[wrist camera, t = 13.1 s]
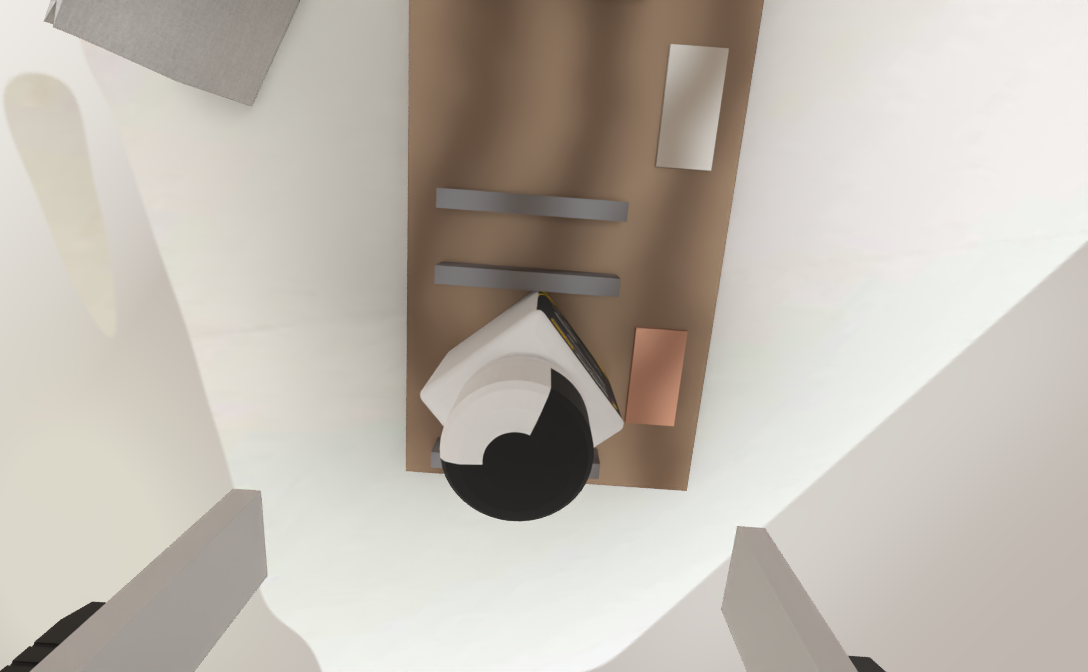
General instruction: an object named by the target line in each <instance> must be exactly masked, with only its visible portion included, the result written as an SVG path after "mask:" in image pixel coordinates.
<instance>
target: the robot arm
mask: <svg viewBox="0 0 1088 672" xmlns="http://www.w3.org/2000/svg"><path fill="white" fill-rule="evenodd" d="M266 577H267V563H266V550H265V537H264V524H263V511H262V498H261V491H256V490H242V489H232V490H231V491H230V492H229V493H228V494H227V495H226V496H225V497H223V498H222V499H221V500H220V501H219V502H218V503H217V504H216V505H215V506H213V508H211V509H210V510H209V511H208V512H207V513H206V514H205V515H203V516H202V517H201V518H200V519H199V520H198V521H197V522H196V523H195V524H193V525H192V526H191V527H190V528H189V529H188V530H187V531H186V532H185V533H183V534H182V535H181V536H180V537H179V538H178V539H177V540H176V541H175V542H173V543H172V544H171V545H170V546H169V547H168V548H167V549H166V550H165V551H164V552H162V553H161V554H160V555H159V556H158V557H157V558H156V559H154V560H153V561H152V562H151V563H150V564H149V565H148V566H147V567H146V568H144V569H143V570H142V571H141V572H140V573H139V574H138V575H137V576H136V577H134V578H133V579H132V580H131V581H130V582H129V583H128V584H127V585H126V586H125V587H123V588H122V589H121V590H120V591H119V592H118V593H117V594H116V595H114V596H113V597H112V598H111V599H110V600H109V601H108V602H107V603H105V602H91V603H89V604H87V605H86V606H84V607H82V608H80V609H79V610H77V611H75V612H73V613H72V614H70V615H68V616H66V617H65V618H63V619H61V620H60V621H59V622H57V623H56V624H55V625H54V626H53V627H52V628H50V629H49V630H48V631H47V632H46V633H44V634H43V635H42V636H41V637H40V638H39V639H37V640H36V641H35V642H34V645H33V646H32V647H30V646H29V647H28V648H27V649H26V650H25V651H23V652H22V653H21V654H20V655H19V656H17V657H16V658H15V659H14V660H13V661H12V664H11V665H10V666H8V665H7V666H6V667H4V668H3V669H2V670H1V671H0V672H194V671H195V670H196V669H197V667H198V666H199V665H200V663H201V662H202V661H203V660H204V658H205V657H206V656H207V654H208V653H209V652H210V650H211V649H212V648H213V646H214V645H215V644H216V642H217V641H218V640H219V639H220V637H221V636H222V635H223V633H224V632H225V631H226V629H227V628H228V627H229V626H230V624H231V623H232V622H233V620H234V619H235V618H236V616H237V615H238V614H239V612H240V611H241V610H242V608H243V607H244V606H245V605H246V603H247V602H248V601H249V599H250V598H251V597H252V595H253V594H254V593H255V591H256V590H257V589H258V588H259V586H260V585H261V584H262V582H263V581H264V580H265V578H266ZM721 610H722V612H723V615H724V617H725V620H726V622H727V624H728V627H729V629H730V632H731V634H732V637H733V639H734V641H735V644H736V646H737V649H738V651H739V654H740V656H741V658H742V661H743V663H744V666H745V668H746V670H747V672H885V671H884V670H883V669H882V668H881V667H880V666H879V665H878V664H877V663H875V662H874V661H873V660H872V659H871V658H869V657H857V656H847V654H846V652H845V651H844V649H843V648H842V646H841V645H840V643H839V642H838V640H837V639H836V637H835V635H834V634H833V632H832V631H831V629H830V628H829V626H828V625H827V623H826V622H825V620H824V618H823V617H822V615H821V614H820V613H819V611H818V609H817V608H816V606H815V605H814V603H813V601H812V600H811V598H810V597H809V596H808V594H807V592H806V591H805V589H804V588H803V586H802V585H801V583H800V581H799V580H798V578H797V577H796V575H795V574H794V572H793V571H792V569H791V568H790V566H789V564H788V563H787V561H786V560H785V558H784V557H783V555H782V554H781V552H780V551H779V549H778V548H777V546H776V544H775V543H774V542H773V540H772V538H771V537H770V535H769V534H768V532H767V531H766V529H765V528H754V527H741V526H737V531H736V536H735V541H734V546H733V551H732V556H731V562H730V567H729V572H728V577H727V583H726V588H725V593H724V598H723V603H722V608H721Z"/></svg>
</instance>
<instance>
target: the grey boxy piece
mask: <svg viewBox="0 0 1088 672" xmlns="http://www.w3.org/2000/svg"><path fill="white" fill-rule="evenodd" d="M299 1H300V0H51V2H50V4H49V7H48V10H47V13H46V16H45V19H44V21H45V22H48V23H51V24H53V27H55V28H57V29H59V30H62V31H64V32H67V33H69V34H71V35H74V36H76V37H79V38H81V39H83V40H85V41H88V42H90V43H92V44H95V45H97V46H99V47H101V48H104V49H106V50H108V51H111V52H113V53H115V54H117V55H120V56H122V57H124V58H126V59H128V60H131V61H133V62H135V63H137V64H140V65H142V66H144V67H146V68H149V69H151V70H153V71H155V72H157V73H160V74H162V75H164V76H166V77H169V78H171V79H173V80H175V81H178V82H181V83H184V84H187V85H190V86H193V87H196V88H199V89H202V90H205V91H208V92H211V93H214V94H217V95H220V96H223V97H226V98H229V99H232V100H235V101H238V102H241V103H244V104H247V105H250V106H252V105H253V103H254V100H255V98H256V96H257V94H258V92H259V89H260V87H261V85H262V83H263V80H264V78H265V76H266V74H267V72H268V69H269V67H270V65H271V63H272V61H273V58H274V56H275V54H276V52H277V50H278V47H279V45H280V43H281V41H282V39H283V36H284V34H285V32H286V30H287V28H288V25H289V23H290V21H291V19H292V17H293V14H294V12H295V10H296V8H297V6H298V3H299Z"/></svg>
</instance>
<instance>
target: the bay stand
mask: <svg viewBox="0 0 1088 672" xmlns="http://www.w3.org/2000/svg"><path fill="white" fill-rule="evenodd" d="M763 3H764V0H409V127H408V262H407V397H406V471H413V472H427V473H442V474H444V471H443V468H442V464H441V459H440V440H441V435H442V431H443V428H444V426H443V425H442V424H441V423H440V421H439V420H438V419H437V418H436V417H435V415H434V414H433V413H432V412H431V411H430V409H429V408H428V407H427V406H426V405H425V403H424V402H423V401H422V399H421V397H420V393H421V391H422V389H423V388H424V386H425V385H426V383H427V382H428V380H429V379H430V378H431V376H432V375H433V373H434V372H435V370H436V369H437V367H438V366H439V365H440V363H441V362H442V360H443V359H444V357H445V356H446V354H447V353H448V352H449V351H450V350H452V349H453V348H454V347H456V346H457V345H459V344H460V343H461V342H463V341H464V340H466V339H467V338H468V337H470V336H471V335H473V334H474V333H475V332H477V331H478V330H479V329H481V328H482V327H484V326H485V325H486V324H488V323H489V322H491V321H492V320H493V319H495V318H496V317H498V316H499V315H500V314H502V313H503V312H505V311H506V310H507V309H509V308H510V307H512V306H513V305H514V304H516V303H517V302H519V301H520V300H521V299H523V298H524V297H525V296H527V295H528V294H530V293H531V292H532V291H541V292H547V294H548V295H549V297H550V298H551V299H552V301H553V302H554V303H555V305H556V306H557V308H558V309H559V310H560V312H561V313H562V314H563V316H564V317H565V319H566V320H567V321H568V323H569V324H570V325H571V327H572V328H573V330H574V331H575V332H576V334H577V335H578V336H579V338H580V339H581V341H582V342H583V343H584V345H585V346H586V347H587V349H588V350H589V352H590V353H591V354H592V356H593V357H594V358H595V360H596V361H597V363H598V364H599V365H600V367H601V368H602V369H603V371H604V372H605V373H606V375H607V376H608V379H609V382H610V385H611V387H612V390H613V393H614V396H615V399H616V402H617V405H618V408H619V411H620V414H621V417H622V420H623V422H624V424H623V428H622V429H621V430H620V431H619V432H617V433H616V434H614V435H613V436H611V437H609V438H608V439H606V440H605V441H603V442H602V443H600V444H599V445H597V446H595V447H594V458H593V465H592V469H591V473H590V475H589V478H588V480H587V482H586V484H597V485H611V486H626V487H640V488H654V489H668V490H682V491H687V485H688V479H689V472H690V466H691V460H692V453H693V447H694V441H695V434H696V428H697V422H698V415H699V409H700V403H701V396H702V390H703V384H704V377H705V371H706V365H707V358H708V352H709V346H710V339H711V333H712V327H713V320H714V314H715V308H716V301H717V295H718V289H719V282H720V276H721V269H722V263H723V257H724V250H725V244H726V238H727V231H728V225H729V219H730V212H731V206H732V200H733V193H734V187H735V181H736V174H737V168H738V162H739V155H740V149H741V143H742V136H743V130H744V124H745V117H746V111H747V105H748V98H749V92H750V86H751V79H752V73H753V67H754V60H755V54H756V48H757V41H758V35H759V29H760V22H761V16H762V10H763Z"/></svg>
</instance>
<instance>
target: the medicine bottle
mask: <svg viewBox="0 0 1088 672" xmlns="http://www.w3.org/2000/svg"><path fill="white" fill-rule="evenodd" d="M420 397H421V399H422V401H423V402H424V403H425V405H426V406H427V407H428V408H429V409H430V411H431V412H432V413H433V414H434V415H435V417H436V418H437V419H438V420H439V421H440V423H441V424H442V425H443V426H444V428H443V431H442V435H441V440H440V459H441V464H442V468H443V471H444V474H445V476H446V478H447V480H448V482H449V484H450V486H451V487H452V488H453V490H454V491H455V492H456V494H457V495H458V496H459V497H460V498H461V499H462V500H463V501H464V502H466V503H467V504H468V505H469V506H471V507H472V508H474V509H476V510H477V511H479V512H481V513H483V514H485V515H488V516H490V517H494V518H497V519H501V520H507V521H529V520H535V519H539V518H543V517H546V516H549V515H551V514H553V513H555V512H557V511H559V510H561V509H562V508H563V507H565V506H566V505H568V504H569V503H570V502H571V501H572V500H573V499H575V497H576V496H577V495H578V494H579V493H580V492H581V490H582V489H583V487H584V485H585V484H586V482H587V480H588V478H589V475H590V473H591V469H592V465H593V458H594V447H595V446H597V445H599V444H600V443H602V442H603V441H605V440H606V439H608V438H609V437H611V436H613V435H614V434H616V433H617V432H619V431H620V430H621V429H622V428H623V424H624V422H623V420H622V417H621V414H620V411H619V408H618V405H617V402H616V399H615V396H614V393H613V390H612V387H611V385H610V382H609V379H608V376H607V375H606V373H605V372H604V371H603V369H602V368H601V367H600V365H599V364H598V363H597V361H596V360H595V358H594V357H593V356H592V354H591V353H590V352H589V350H588V349H587V347H586V346H585V345H584V343H583V342H582V341H581V339H580V338H579V336H578V335H577V334H576V332H575V331H574V330H573V328H572V327H571V325H570V324H569V323H568V321H567V320H566V319H565V317H564V316H563V314H562V313H561V312H560V310H559V309H558V308H557V306H556V305H555V303H554V302H553V301H552V299H551V298H550V297H549V295H548V294H547V292H541V291H532V292H531V293H530V294H528V295H527V296H525V297H524V298H523V299H521V300H520V301H519V302H517V303H516V304H514V305H513V306H512V307H510V308H509V309H507V310H506V311H505V312H503V313H502V314H500V315H499V316H498V317H496V318H495V319H493V320H492V321H491V322H489V323H488V324H486V325H485V326H484V327H482V328H481V329H479V330H478V331H477V332H475V333H474V334H473V335H471V336H470V337H468V338H467V339H466V340H464V341H463V342H461V343H460V344H459V345H457V346H456V347H454V348H453V349H452V350H450V351H449V352H448V353H447V354H446V356H445V357H444V359H443V360H442V362H441V363H440V365H439V366H438V367H437V369H436V370H435V372H434V373H433V375H432V376H431V378H430V379H429V380H428V382H427V383H426V385H425V386H424V388H423V389H422V391H421V393H420Z"/></svg>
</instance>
